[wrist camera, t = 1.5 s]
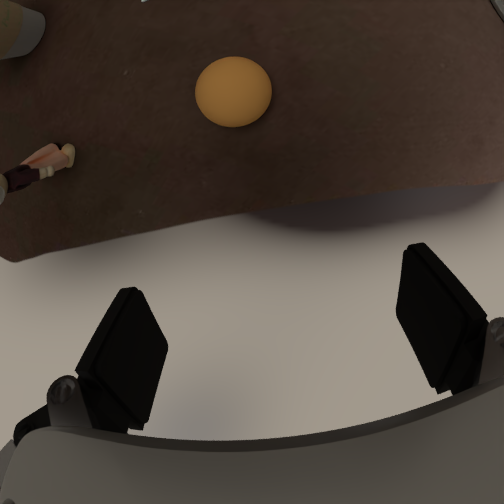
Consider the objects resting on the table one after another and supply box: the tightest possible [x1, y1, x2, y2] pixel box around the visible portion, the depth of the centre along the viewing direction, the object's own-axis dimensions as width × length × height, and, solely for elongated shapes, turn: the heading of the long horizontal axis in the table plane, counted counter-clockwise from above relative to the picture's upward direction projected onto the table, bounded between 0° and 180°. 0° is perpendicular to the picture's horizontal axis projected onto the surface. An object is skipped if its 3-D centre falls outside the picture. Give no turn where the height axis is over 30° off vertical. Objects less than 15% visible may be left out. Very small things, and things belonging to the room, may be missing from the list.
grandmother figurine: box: [0, 144, 75, 204], centre depth 19 cm, size 8×4×13 cm, turn 100°
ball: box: [195, 57, 272, 127], centre depth 20 cm, size 6×6×6 cm
